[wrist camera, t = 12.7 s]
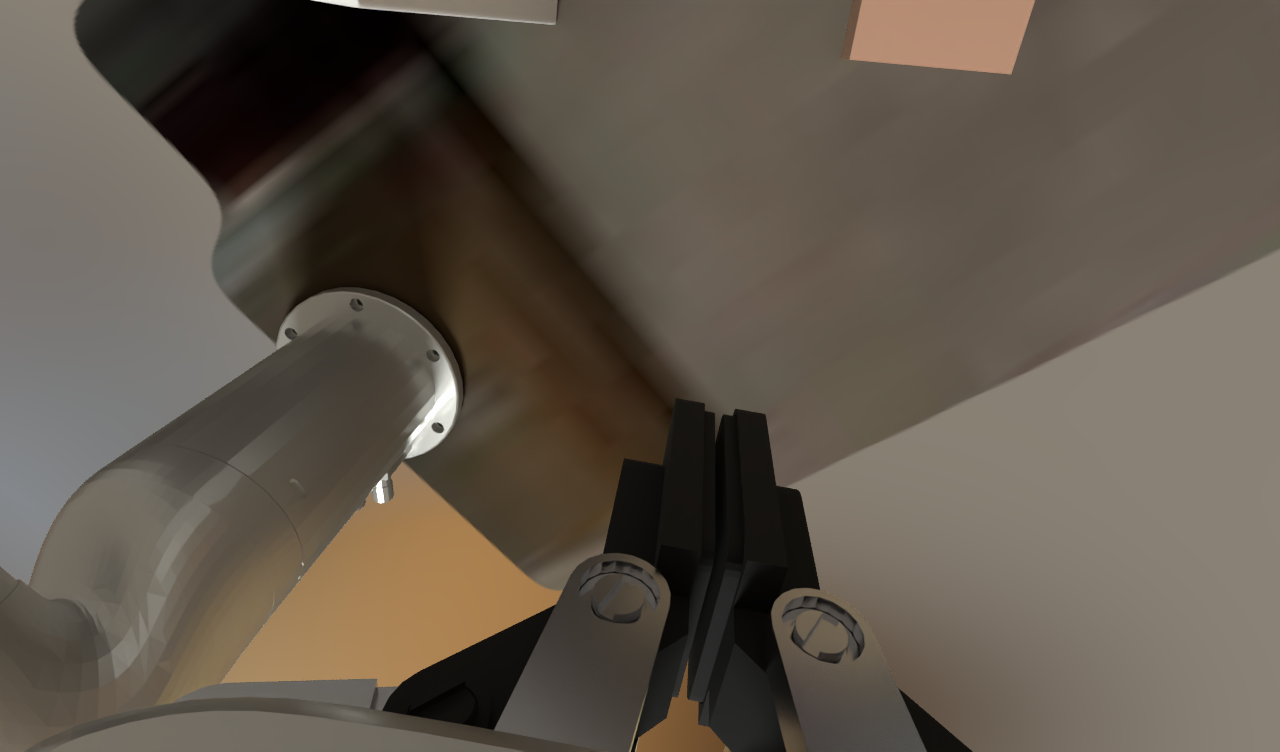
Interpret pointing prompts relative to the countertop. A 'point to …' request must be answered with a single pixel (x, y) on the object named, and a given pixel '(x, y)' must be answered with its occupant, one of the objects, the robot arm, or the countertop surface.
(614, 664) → the robot arm
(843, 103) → the countertop surface
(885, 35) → the tile
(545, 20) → the milk
